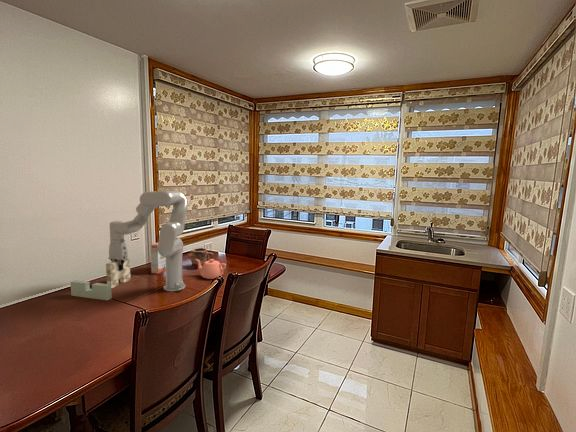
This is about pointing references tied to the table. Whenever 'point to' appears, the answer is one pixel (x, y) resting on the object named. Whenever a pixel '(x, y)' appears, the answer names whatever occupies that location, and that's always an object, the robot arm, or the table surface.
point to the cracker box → (157, 260)
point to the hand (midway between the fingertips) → (118, 269)
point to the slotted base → (91, 290)
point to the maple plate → (117, 272)
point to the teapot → (211, 269)
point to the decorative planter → (199, 256)
